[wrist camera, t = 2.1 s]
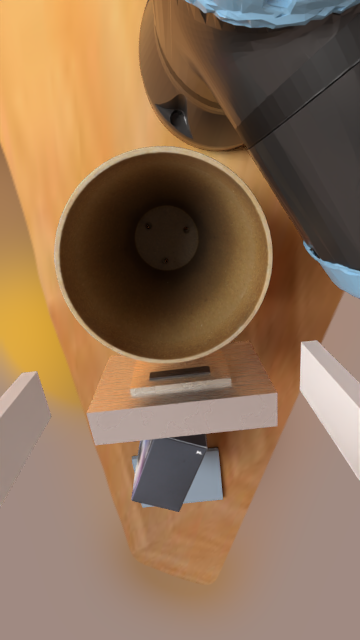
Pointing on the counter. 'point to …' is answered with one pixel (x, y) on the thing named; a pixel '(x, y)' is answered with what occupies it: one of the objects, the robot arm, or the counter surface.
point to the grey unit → (182, 396)
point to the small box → (167, 470)
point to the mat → (202, 479)
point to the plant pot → (163, 254)
